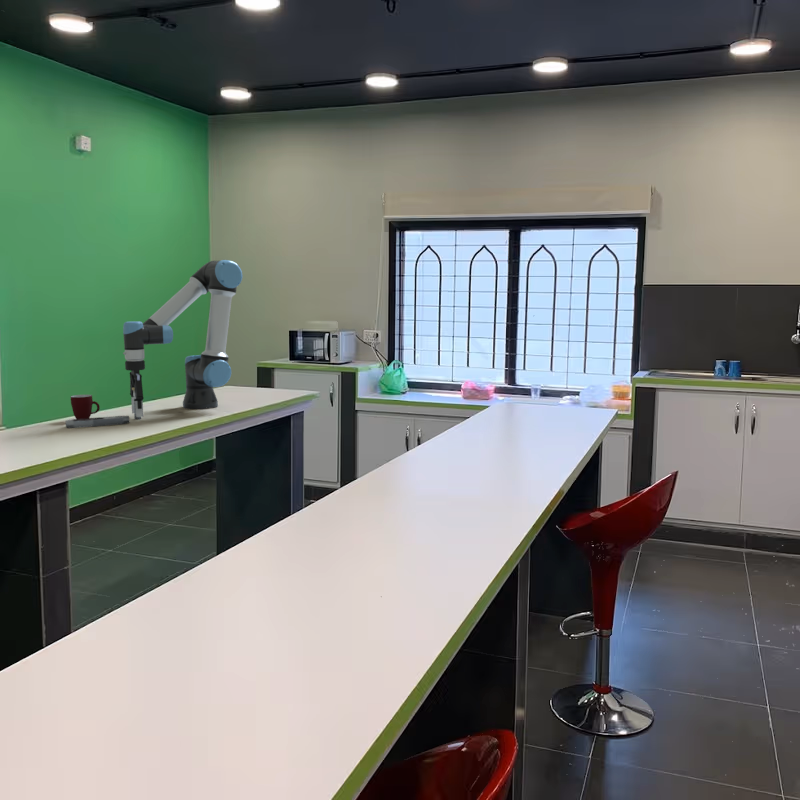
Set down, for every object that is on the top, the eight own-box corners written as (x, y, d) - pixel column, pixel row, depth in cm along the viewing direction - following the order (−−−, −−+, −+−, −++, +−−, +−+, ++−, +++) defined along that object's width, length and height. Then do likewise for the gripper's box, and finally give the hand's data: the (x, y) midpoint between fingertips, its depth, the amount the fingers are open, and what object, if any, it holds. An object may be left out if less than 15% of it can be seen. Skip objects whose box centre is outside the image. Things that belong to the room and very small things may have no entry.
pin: (141, 417, 323) (139, 386, 321) (142, 419, 320) (141, 387, 318) (132, 418, 321) (131, 387, 319) (134, 419, 318) (132, 388, 316)
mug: (98, 417, 324) (96, 393, 322) (101, 420, 317) (100, 395, 315) (70, 420, 318) (69, 395, 317) (73, 422, 312) (72, 397, 310)
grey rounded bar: (128, 421, 314) (127, 415, 314) (130, 423, 310) (129, 417, 310) (65, 426, 304) (65, 419, 304) (66, 428, 299) (66, 422, 299)
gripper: (121, 358, 325) (123, 411, 328) (129, 362, 305) (132, 419, 309) (139, 357, 328) (142, 410, 332) (149, 362, 309) (152, 418, 312)
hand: (137, 414), depth 320 cm, fingers open, 10 cm apart
